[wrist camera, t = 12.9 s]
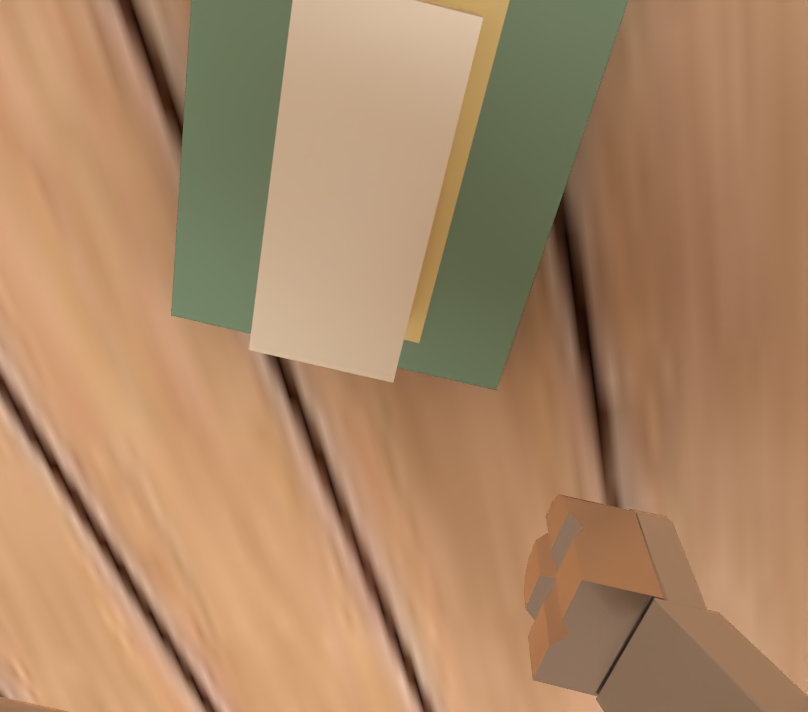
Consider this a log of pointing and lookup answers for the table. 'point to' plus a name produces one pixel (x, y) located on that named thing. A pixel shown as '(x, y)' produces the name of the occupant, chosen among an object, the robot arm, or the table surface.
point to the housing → (357, 176)
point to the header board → (462, 185)
